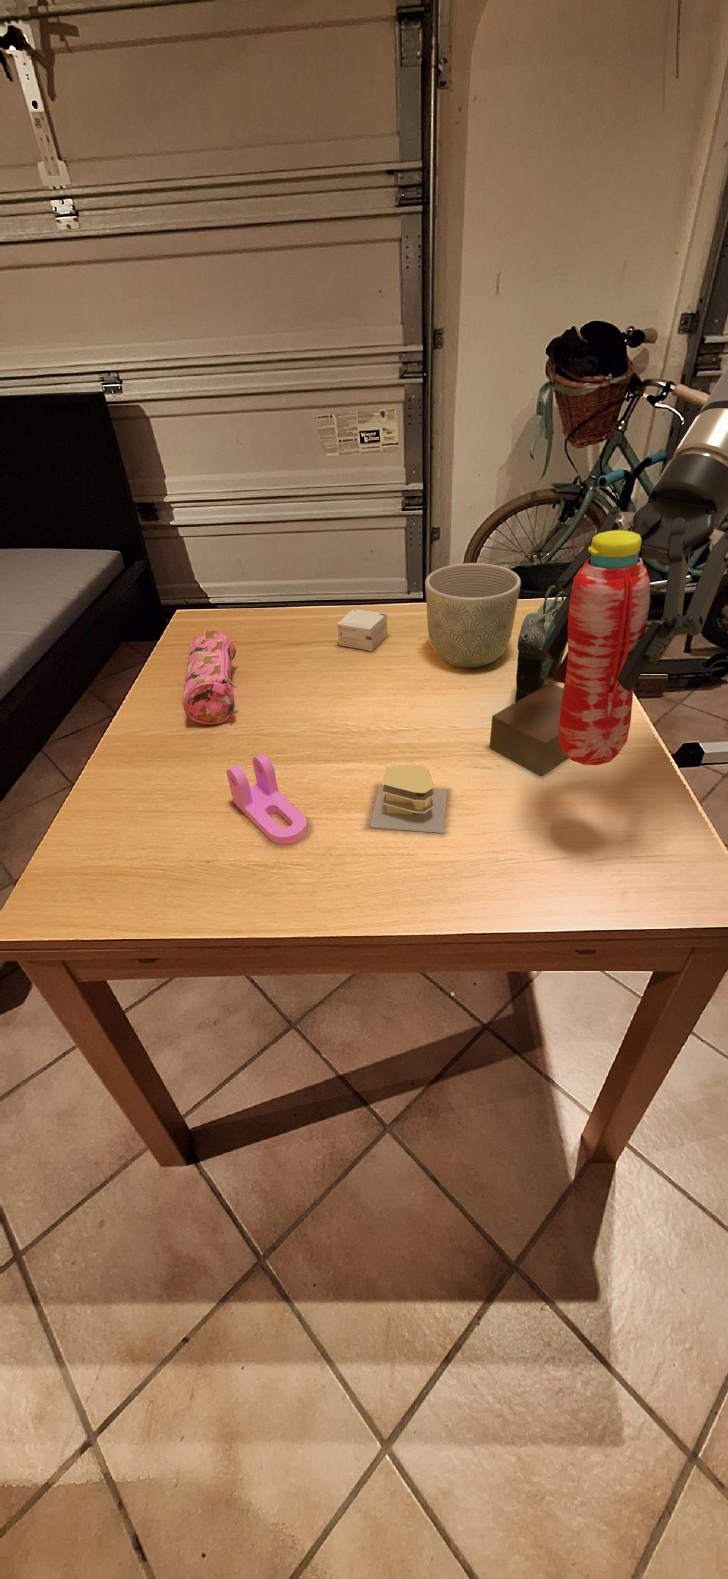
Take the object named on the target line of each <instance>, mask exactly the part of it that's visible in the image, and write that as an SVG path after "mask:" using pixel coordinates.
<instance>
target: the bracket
mask: <svg viewBox="0 0 728 1579" xmlns="http://www.w3.org/2000/svg"><path fill="white" fill-rule="evenodd" d="M252 767H253V771H254V776H255V781H256V783H254V784H253V785H251V786H250V783H249V779H248V777H247V774H246V773H245V771H244V770H243V769H242V767H240V765H238V764H237V765H234V766H232V767H230V768H228V769H227V770H226V777H227V780H228V781H227V782H228V785H229V789H230V793H231V797H232V801H233V804H234V805H235V806H236V807H237V808H238V809H239V810H240V811H241V812H242V813H243V814H244V815H245V816H246V817H247V818H248V819H249V820H250V821H251V822H252V823H253V824H254V825H255V826H256V827H257V828H258V829H259V831H261V832H262V834H264V835H265V836H266V837H267V838H268V840H270V841H271V842H273V843H275V844H278V845H284V846H285V845H286V846H287V845H292V844H295V843H297V842H299V841H301V840H302V839H303V838H305V836H306V835H307V832H308V822H307V818H306V815H305V814H304V813H303V812H301V811H300V810H299V809H298V808H297V807H296V806H295V805H294V804H293V803H292V802H291V801H289V799H287V798H286V797H285V796H284V795H283V794H282V793H281V792H280V791H279V787H278V783H277V778H276V772H275V767H274V765H273V763H272V761H271V759H270V758H269V756H268V755H267V754H266V753H260V754H258V755H257V756H254V757H252ZM273 813H276V814H278V815H279V816H280V817H281V818H282V819H284V820H285V822H286V823H288V824H289V826H287V827H285V826H284V827H283V826H281V825H280V824H279V823H278V822H277V821H276V820H275V819H274V818H273V817H272V816H271V814H273Z"/></svg>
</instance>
